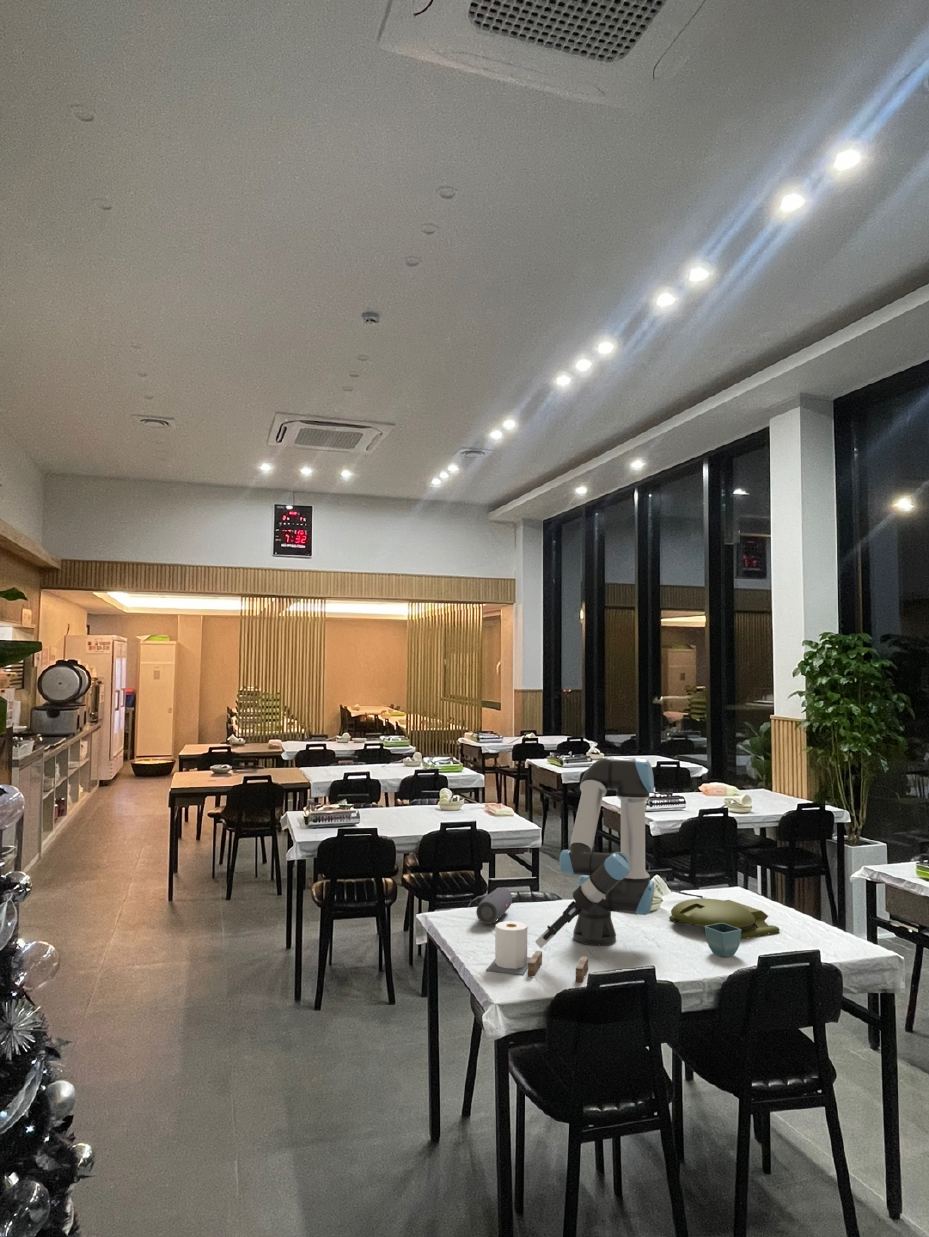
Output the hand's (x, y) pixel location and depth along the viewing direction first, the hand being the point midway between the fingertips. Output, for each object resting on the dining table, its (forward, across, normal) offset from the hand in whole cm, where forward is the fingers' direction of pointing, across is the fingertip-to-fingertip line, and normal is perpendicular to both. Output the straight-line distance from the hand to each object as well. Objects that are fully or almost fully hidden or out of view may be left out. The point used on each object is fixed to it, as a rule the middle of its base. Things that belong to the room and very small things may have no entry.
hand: (544, 938), depth 260 cm
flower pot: (-28, +39, -44) cm, 66 cm away
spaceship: (-24, +72, -42) cm, 87 cm away
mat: (+15, 0, +2) cm, 15 cm away
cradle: (+4, -1, -10) cm, 11 cm away
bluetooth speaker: (+31, +46, +17) cm, 58 cm away
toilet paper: (+14, 0, +2) cm, 15 cm away
